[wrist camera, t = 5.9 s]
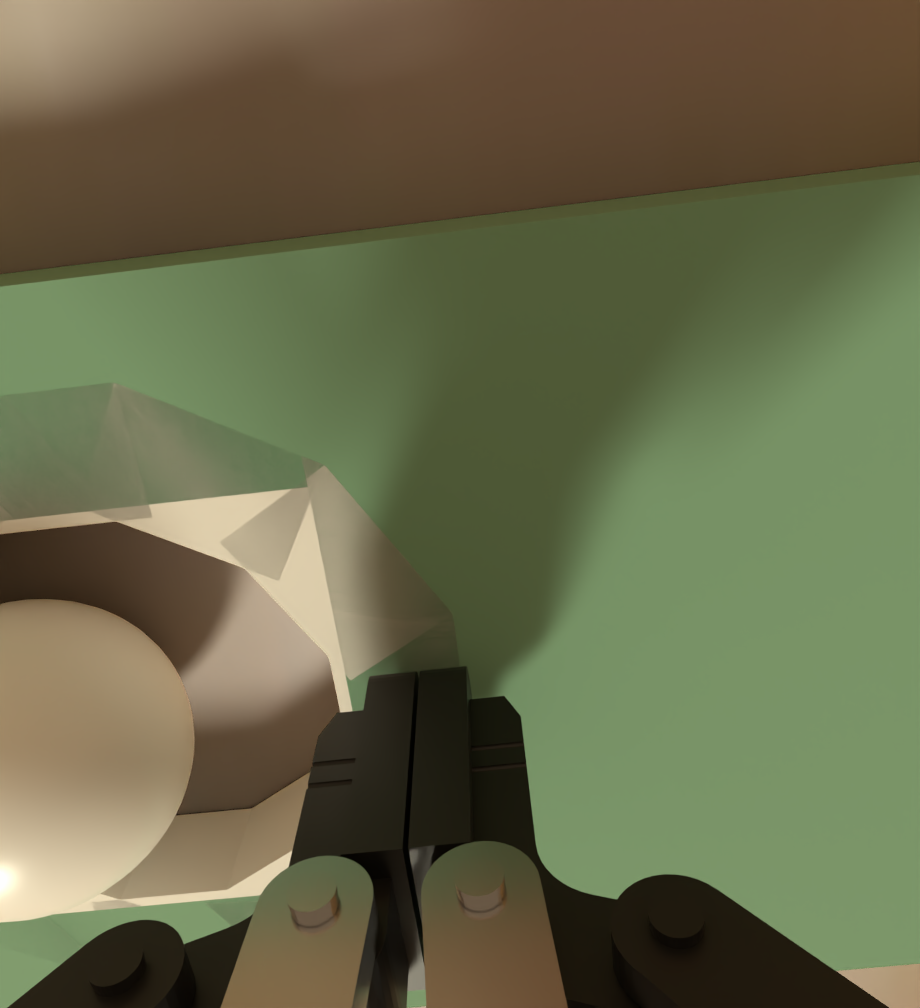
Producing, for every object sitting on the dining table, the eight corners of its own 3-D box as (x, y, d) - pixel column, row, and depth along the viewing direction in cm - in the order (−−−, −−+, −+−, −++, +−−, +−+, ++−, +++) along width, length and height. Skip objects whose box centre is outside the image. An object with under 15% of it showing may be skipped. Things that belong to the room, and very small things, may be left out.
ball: (-130, 775, 9) (-262, 661, 12) (10, 1064, 11) (-133, 908, 14) (219, 582, 13) (52, 528, 15) (280, 826, 15) (122, 740, 17)
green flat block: (1057, 144, 12) (1165, 144, 10) (949, 870, 18) (1008, 955, 16) (-316, 312, 13) (-444, 341, 11) (-13, 958, 18) (-65, 1048, 17)
